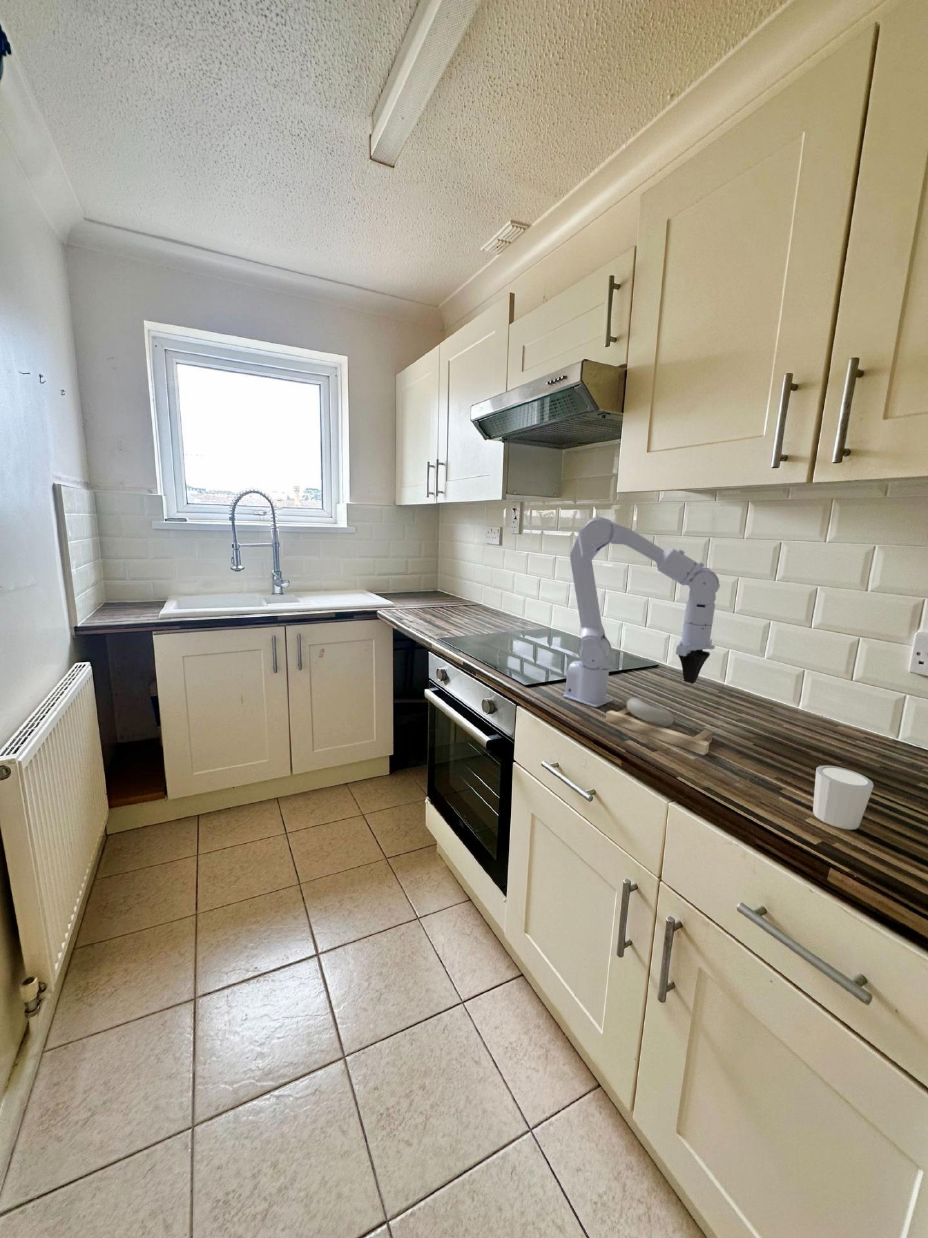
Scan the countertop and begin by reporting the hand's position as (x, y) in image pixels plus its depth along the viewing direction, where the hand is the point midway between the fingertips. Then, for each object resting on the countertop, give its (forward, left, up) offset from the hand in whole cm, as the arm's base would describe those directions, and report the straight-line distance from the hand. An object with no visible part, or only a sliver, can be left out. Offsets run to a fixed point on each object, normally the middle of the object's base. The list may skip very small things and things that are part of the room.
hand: (689, 681), depth 111 cm
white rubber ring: (0, -8, -7) cm, 10 cm away
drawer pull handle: (0, -13, -9) cm, 16 cm away
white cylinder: (+32, -23, -9) cm, 41 cm away
